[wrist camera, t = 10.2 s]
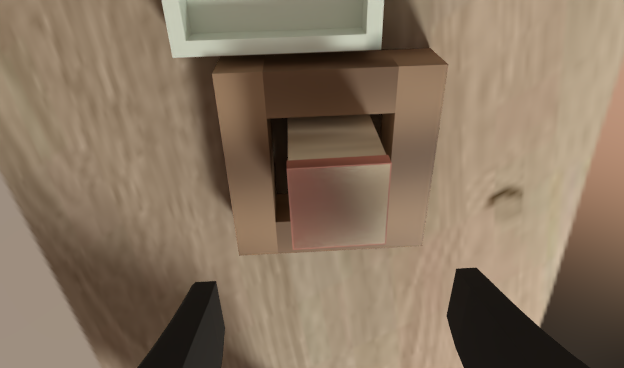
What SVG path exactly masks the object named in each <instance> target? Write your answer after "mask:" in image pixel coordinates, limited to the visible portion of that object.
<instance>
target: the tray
mask: <svg viewBox="0 0 624 368" xmlns="http://www.w3.org/2000/svg"><path fill="white" fill-rule="evenodd" d="M162 5H163V10H164V16H165V21H166V26H167V31H168V36H169V41H170V46H171V51H172V57H173V58H179V57H205V56H231V55H256V54H282V53H308V52H334V51H360V50H381V44H382V28H383V11H384V0H162Z"/></svg>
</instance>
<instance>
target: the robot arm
mask: <svg viewBox="0 0 624 368" xmlns="http://www.w3.org/2000/svg"><path fill="white" fill-rule="evenodd" d="M447 319H448V323H449V326H450V330H451V334H452V337H453V340H454V344H455V347H456V350H457V352H458V355H459V357H460V359H461V362H462V364H463V367H464V368H590V367H588V366H587V365H586V364H584V363H583V362H582V361H580V360H579V359H577V358H576V357H575V356H573V355H572V354H571V353H570V352H568V351H567V350H566V349H565V348H564V347H562V346H561V345H560V344H559V343H558V342H556V341H555V340H554V339H553V338H551V337H550V336H549V335H548V334H546V333H545V332H544V331H543V330H542V329H541V328H540V327H539V326H537V325H536V324H535V323H534V322H533V321H532V320H531V319H530V318H529V317H528V316H526V315H525V314H524V313H523V312H522V311H521V310H520V309H519V308H518V307H517V306H516V305H515V304H513V303H512V302H511V301H510V300H509V299H508V298H507V297H506V296H505V295H504V294H503V293H502V292H501V291H500V290H499V289H498V288H497V287H496V286H495V285H494V284H493V283H492V282H491V281H490V280H489V279H488V278H487V277H486V276H485V275H483V274H482V273H481V272H480V271H479V270H478V269H477V268H461V269H456V273H455V278H454V283H453V288H452V292H451V297H450V302H449V307H448V312H447ZM224 334H225V326H224V320H223V315H222V310H221V305H220V299H219V294H218V289H217V284H216V281H210V282H195V283H194V284H193V285H192V287H191V288H190V290H189V292H188V294H187V295H186V297H185V299H184V300H183V302H182V304H181V305H180V307H179V309H178V310H177V312H176V313H175V315H174V317H173V318H172V320H171V321H170V323H169V324H168V326H167V327H166V329H165V330H164V332H163V333H162V335H161V336H160V338H159V339H158V341H157V342H156V343H155V345H154V346H153V348H152V349H151V350H150V352H149V353H148V354H147V356H146V357H145V358H144V360H143V361H142V362H141V364H140V365H139V366H138V368H221V364H222V357H223V346H224Z"/></svg>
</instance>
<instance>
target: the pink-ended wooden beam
mask: <svg viewBox="0 0 624 368" xmlns="http://www.w3.org/2000/svg"><path fill="white" fill-rule="evenodd" d="M391 167H392V162H391V160H390V158H389V155H386V153H385V150H384V148H383V146H382V143H381V141H380V139H379V136H378V134H377V131H376V129H375V127H374V124H373V122H372V120H371V117H370V115H369V114H362V115H339V116H315V117H292V118H288V160H287V180H288V194H289V207H290V220H291V233H292V246H293V250H300V249H316V248H333V247H349V246H365V245H382V244H386V236H387V222H388V208H389V194H390V180H391Z"/></svg>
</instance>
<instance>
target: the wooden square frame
mask: <svg viewBox="0 0 624 368" xmlns="http://www.w3.org/2000/svg"><path fill="white" fill-rule="evenodd" d="M447 69H448V64H447V63H446V62H445V61H444V60H443V59H442V58H441V57H439V56H438V55H437V54H436V53H435V52H434V51H433V50H432V49H431V48H423V49H397V50H371V51H345V52H319V53H293V54H268V55H242V56H220V58H219V60H218V62H217V64H216V66H215V68H214V71H213V73H212V78H213V85H214V91H215V98H216V105H217V111H218V118H219V125H220V131H221V138H222V144H223V151H224V158H225V164H226V171H227V178H228V184H229V191H230V198H231V204H232V211H233V218H234V224H235V231H236V238H237V244H238V251H239V256H240V255H259V254H278V253H297V252H316V251H336V250H355V249H374V248H393V247H412V246H422V244H423V237H424V230H425V223H426V216H427V209H428V202H429V195H430V188H431V181H432V174H433V167H434V160H435V153H436V146H437V139H438V132H439V125H440V118H441V111H442V104H443V97H444V90H445V83H446V76H447ZM362 114H382V127H381V143H382V146H383V148H384V150H385V153H386V155H389V158H390V160H391V162H392V167H391V180H390V194H389V208H388V222H387V236H386V244H382V245H365V246H349V247H333V248H316V249H300V250H293V246H292V233H291V220H290V207H289V194H276V182H275V169H274V157H273V145H272V133H271V121H270V118H292V117H315V116H339V115H362Z"/></svg>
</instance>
